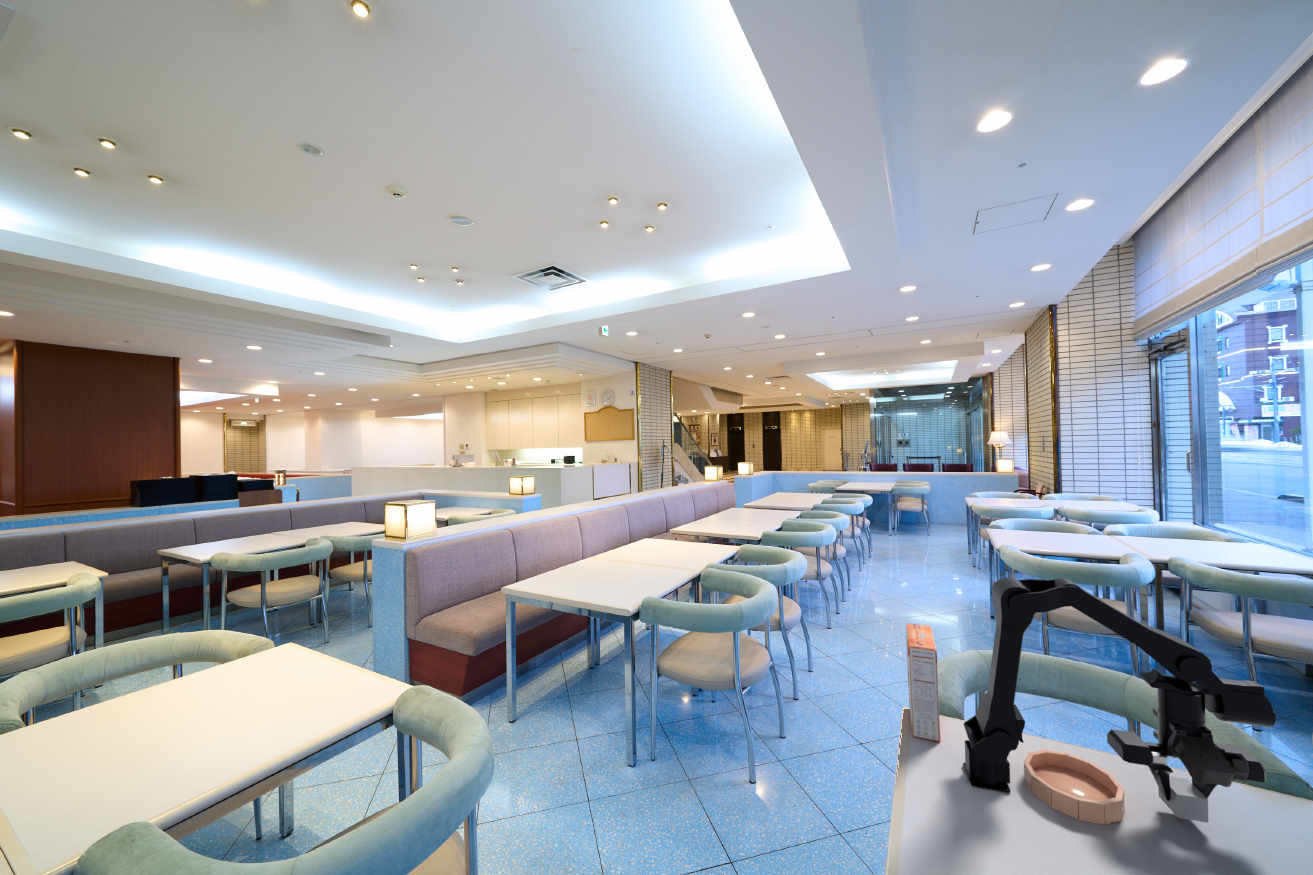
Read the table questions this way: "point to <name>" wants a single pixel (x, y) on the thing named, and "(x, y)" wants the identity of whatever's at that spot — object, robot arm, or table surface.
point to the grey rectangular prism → (1186, 800)
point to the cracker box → (923, 682)
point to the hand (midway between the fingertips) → (1182, 801)
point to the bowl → (1074, 786)
